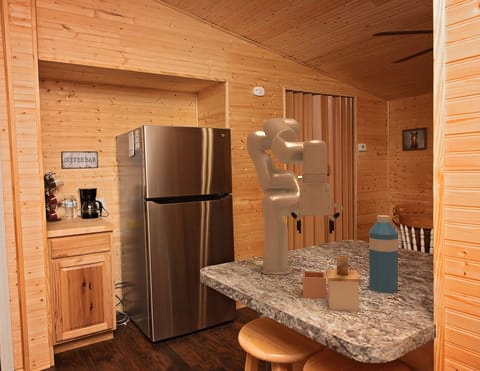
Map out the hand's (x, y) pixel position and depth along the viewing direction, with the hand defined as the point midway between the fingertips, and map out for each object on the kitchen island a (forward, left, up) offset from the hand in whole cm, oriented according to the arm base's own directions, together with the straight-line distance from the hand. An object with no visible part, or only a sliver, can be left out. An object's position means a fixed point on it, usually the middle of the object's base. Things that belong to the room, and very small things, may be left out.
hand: (315, 233), depth 117 cm
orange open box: (0, 0, -21) cm, 21 cm away
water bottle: (+23, +9, -21) cm, 32 cm away
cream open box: (+8, -8, -21) cm, 23 cm away
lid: (+8, -8, -12) cm, 16 cm away
